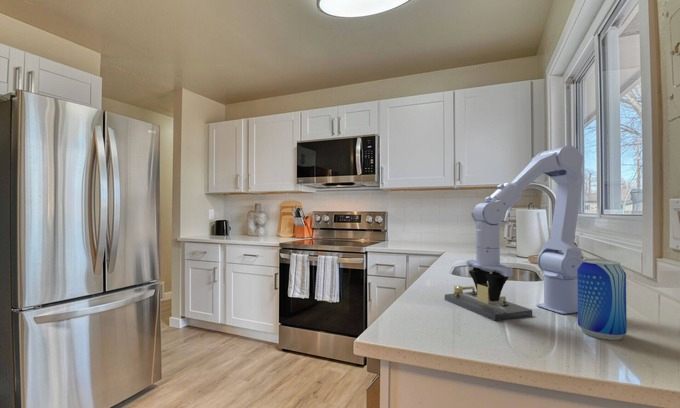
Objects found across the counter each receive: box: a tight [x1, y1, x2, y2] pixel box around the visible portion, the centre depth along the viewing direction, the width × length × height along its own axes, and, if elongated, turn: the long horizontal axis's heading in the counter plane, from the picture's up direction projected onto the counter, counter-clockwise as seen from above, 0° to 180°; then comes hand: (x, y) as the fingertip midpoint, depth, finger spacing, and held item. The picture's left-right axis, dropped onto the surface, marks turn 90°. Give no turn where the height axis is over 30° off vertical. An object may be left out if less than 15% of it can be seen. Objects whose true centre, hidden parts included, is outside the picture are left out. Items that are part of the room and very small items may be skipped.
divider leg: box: [476, 282, 507, 304], centre depth 88 cm, size 8×4×5 cm, turn 108°
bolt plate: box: [444, 285, 533, 322], centre depth 92 cm, size 12×20×4 cm, turn 18°
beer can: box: [577, 258, 628, 341], centre depth 73 cm, size 8×8×16 cm
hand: (488, 298), depth 88 cm, fingers closed on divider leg, 4 cm apart
